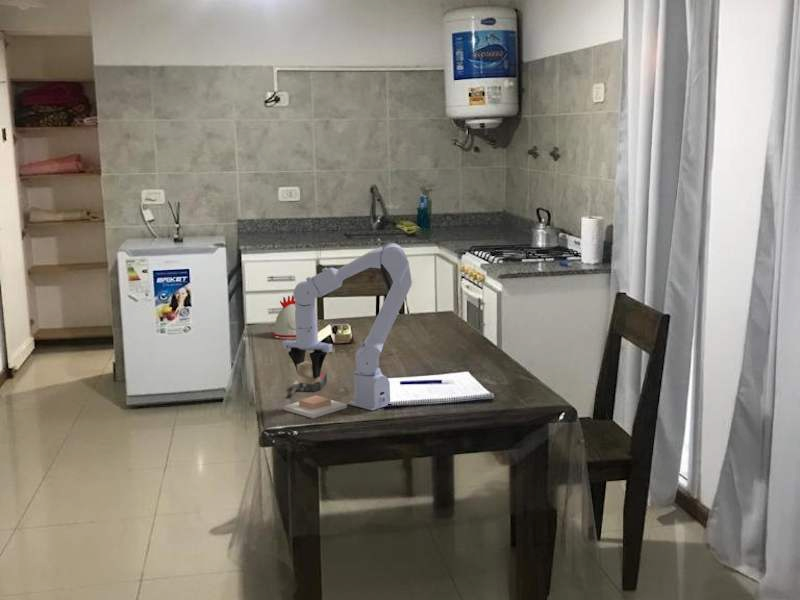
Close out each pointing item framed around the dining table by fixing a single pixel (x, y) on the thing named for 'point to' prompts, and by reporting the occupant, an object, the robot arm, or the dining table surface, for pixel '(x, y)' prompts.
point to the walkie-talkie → (310, 385)
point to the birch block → (306, 373)
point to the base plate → (315, 412)
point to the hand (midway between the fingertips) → (308, 376)
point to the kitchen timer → (286, 319)
